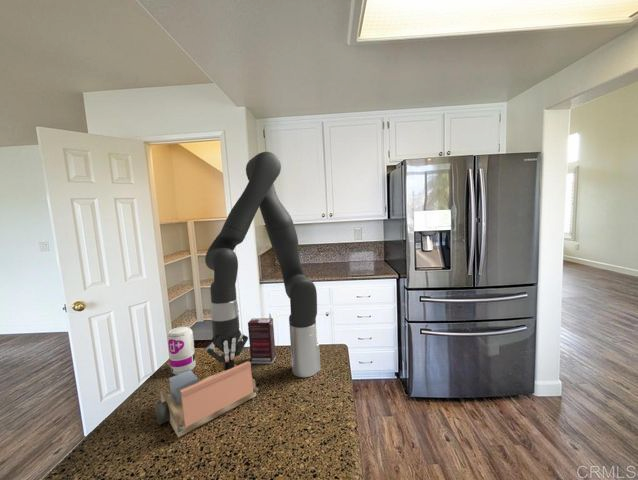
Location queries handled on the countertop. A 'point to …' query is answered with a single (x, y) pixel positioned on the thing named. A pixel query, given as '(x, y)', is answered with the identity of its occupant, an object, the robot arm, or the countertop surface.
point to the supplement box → (261, 340)
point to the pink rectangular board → (216, 393)
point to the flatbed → (174, 412)
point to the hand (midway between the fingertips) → (229, 371)
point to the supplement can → (181, 350)
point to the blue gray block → (181, 384)
